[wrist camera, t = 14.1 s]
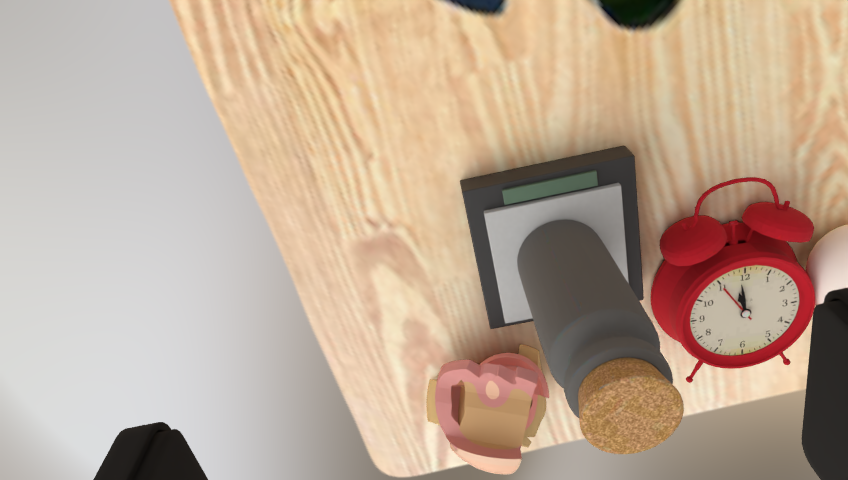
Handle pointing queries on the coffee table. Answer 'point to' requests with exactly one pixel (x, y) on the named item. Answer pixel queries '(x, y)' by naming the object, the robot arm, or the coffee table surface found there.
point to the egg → (829, 263)
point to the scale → (544, 202)
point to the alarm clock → (735, 284)
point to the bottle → (598, 339)
